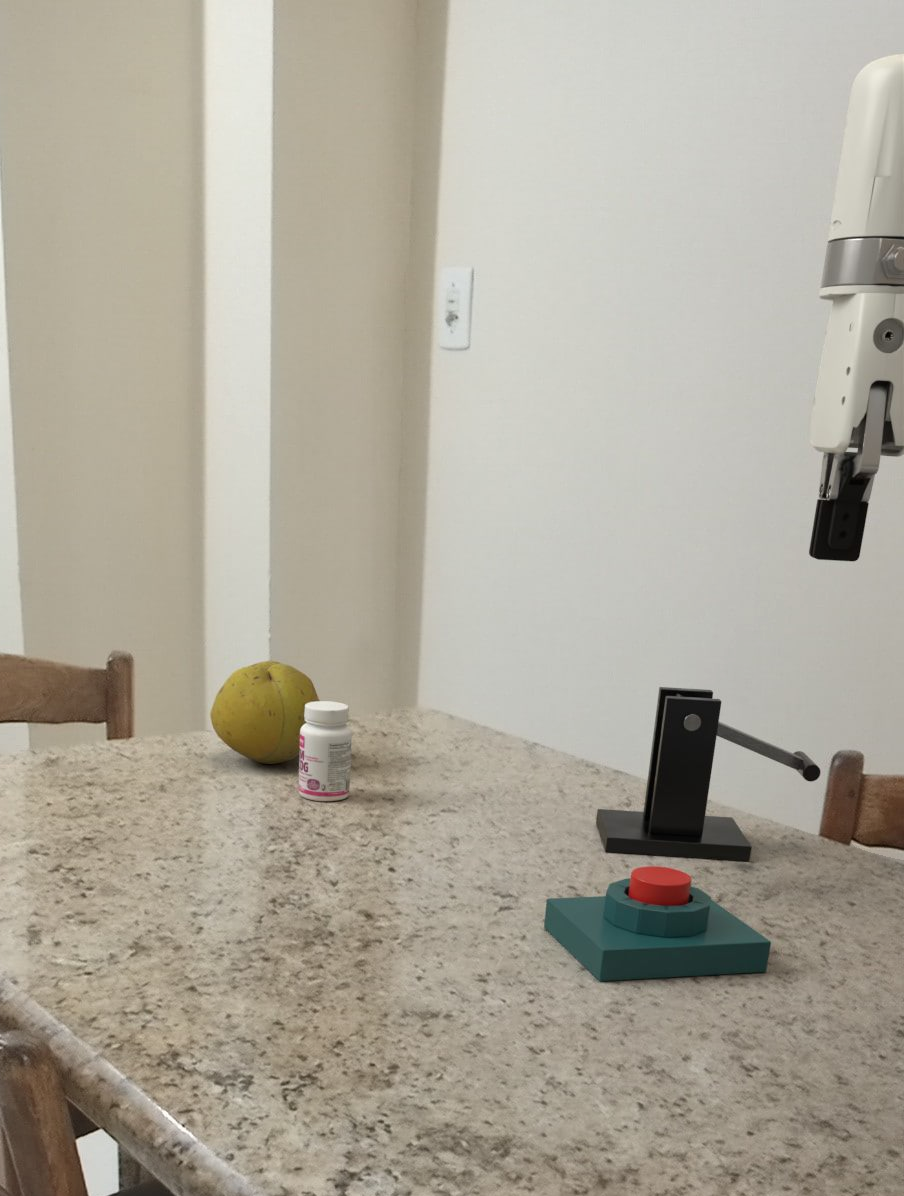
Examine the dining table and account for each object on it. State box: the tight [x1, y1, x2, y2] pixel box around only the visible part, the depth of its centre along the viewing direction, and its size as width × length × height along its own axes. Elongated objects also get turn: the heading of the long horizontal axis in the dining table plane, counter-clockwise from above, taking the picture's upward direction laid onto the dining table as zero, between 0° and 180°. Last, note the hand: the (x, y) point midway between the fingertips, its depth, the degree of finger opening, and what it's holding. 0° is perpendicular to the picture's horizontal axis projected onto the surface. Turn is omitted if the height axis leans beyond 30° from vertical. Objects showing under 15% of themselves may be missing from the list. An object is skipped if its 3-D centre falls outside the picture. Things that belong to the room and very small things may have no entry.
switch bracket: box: [595, 686, 753, 862], centre depth 117 cm, size 12×9×13 cm
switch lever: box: [676, 694, 821, 782], centre depth 115 cm, size 13×5×2 cm, turn 86°
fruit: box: [210, 660, 320, 765], centre depth 137 cm, size 11×12×10 cm
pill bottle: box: [297, 700, 353, 802], centre depth 126 cm, size 5×5×8 cm
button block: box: [543, 877, 772, 982], centre depth 94 cm, size 12×10×4 cm
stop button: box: [628, 865, 692, 906], centre depth 93 cm, size 4×4×2 cm
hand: (833, 558), depth 99 cm, fingers closed
